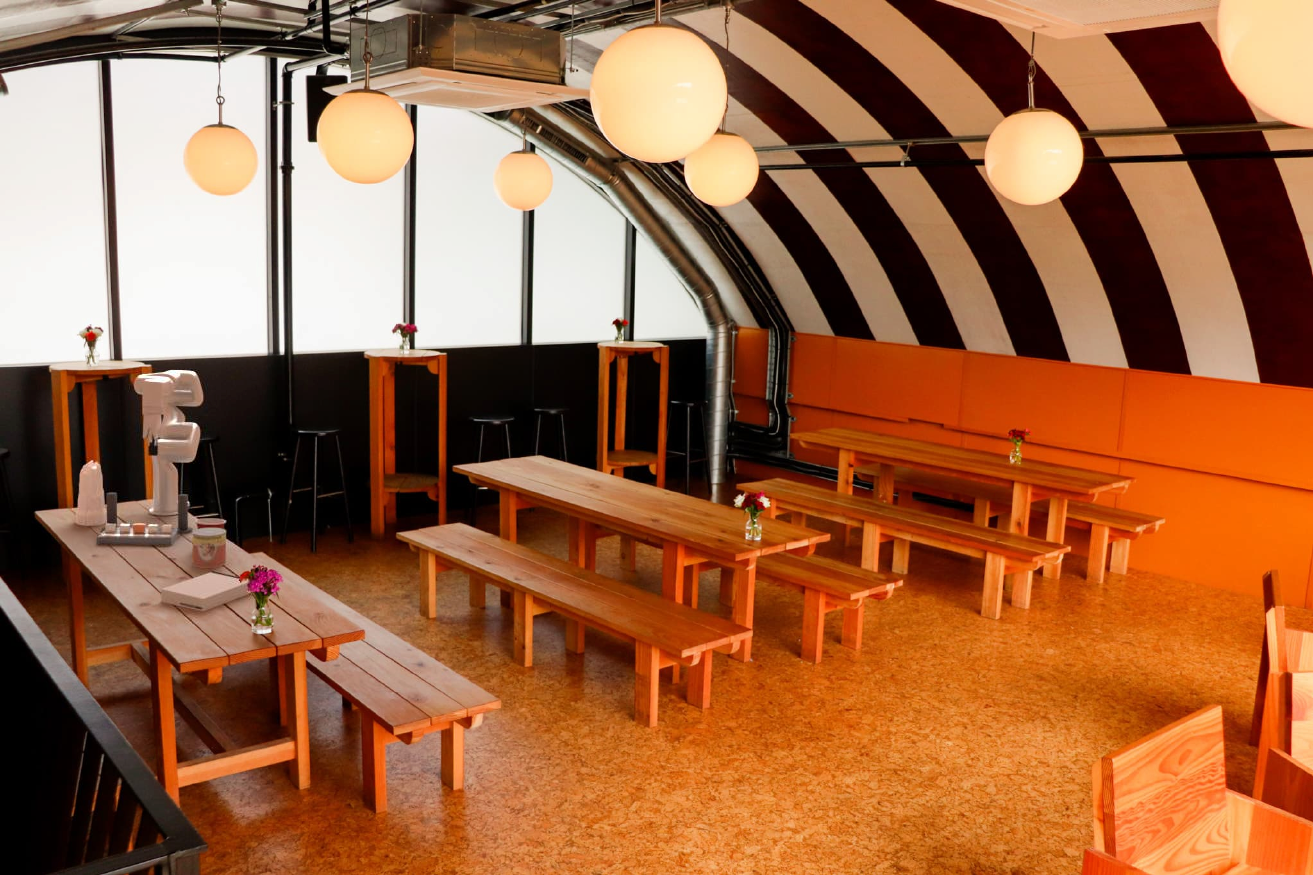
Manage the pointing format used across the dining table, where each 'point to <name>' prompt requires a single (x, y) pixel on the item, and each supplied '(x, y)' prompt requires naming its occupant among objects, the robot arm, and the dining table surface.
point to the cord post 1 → (111, 509)
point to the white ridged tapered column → (91, 496)
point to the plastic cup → (210, 523)
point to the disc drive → (205, 591)
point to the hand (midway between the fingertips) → (153, 455)
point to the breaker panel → (138, 535)
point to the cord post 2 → (183, 514)
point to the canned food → (209, 547)
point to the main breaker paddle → (139, 527)
